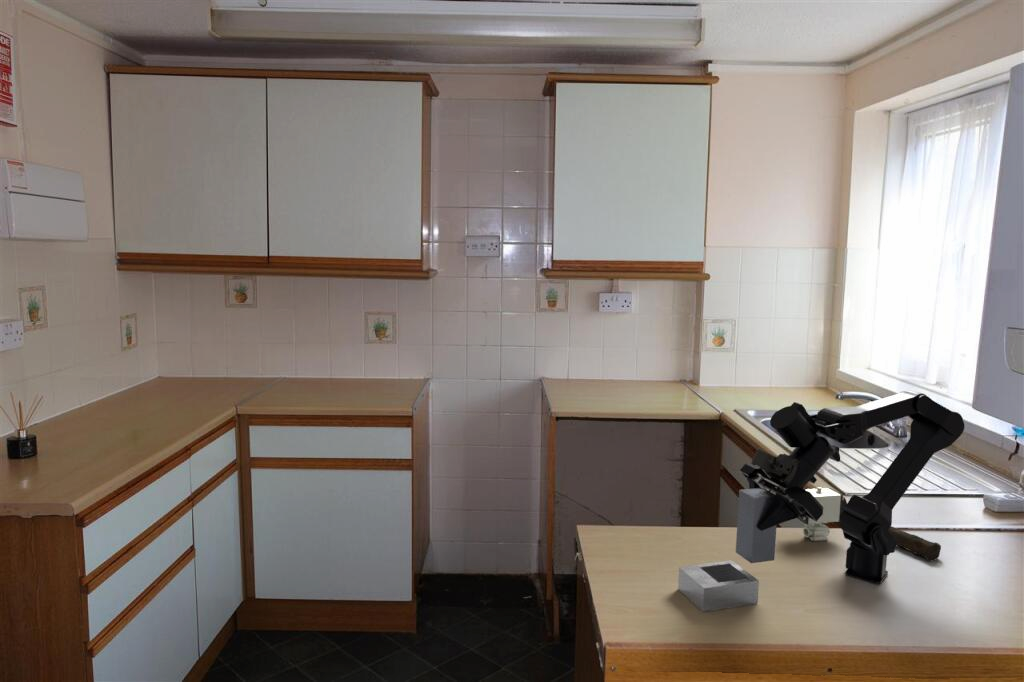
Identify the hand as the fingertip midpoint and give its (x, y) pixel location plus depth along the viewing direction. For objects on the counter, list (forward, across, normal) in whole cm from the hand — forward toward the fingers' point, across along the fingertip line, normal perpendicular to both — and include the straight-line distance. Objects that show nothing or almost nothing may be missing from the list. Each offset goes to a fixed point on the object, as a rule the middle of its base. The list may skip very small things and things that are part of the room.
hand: (750, 523), depth 134 cm
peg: (+4, 0, +6) cm, 7 cm away
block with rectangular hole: (+14, 0, +5) cm, 15 cm away
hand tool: (-22, -11, +42) cm, 48 cm away
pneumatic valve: (-12, -18, +31) cm, 38 cm away
